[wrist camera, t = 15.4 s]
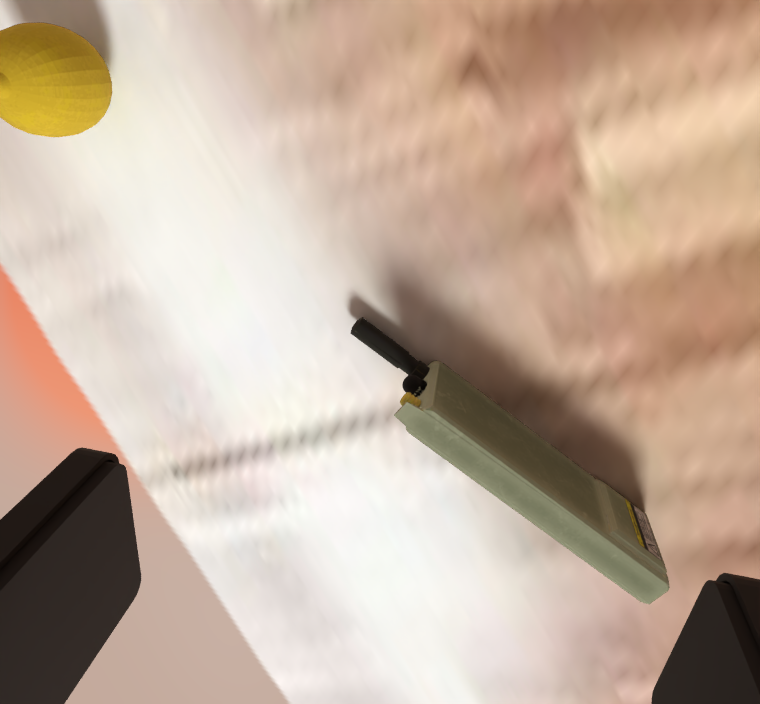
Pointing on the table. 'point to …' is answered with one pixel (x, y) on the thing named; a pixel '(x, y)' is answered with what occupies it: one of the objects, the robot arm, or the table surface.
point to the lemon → (51, 80)
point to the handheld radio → (524, 471)
